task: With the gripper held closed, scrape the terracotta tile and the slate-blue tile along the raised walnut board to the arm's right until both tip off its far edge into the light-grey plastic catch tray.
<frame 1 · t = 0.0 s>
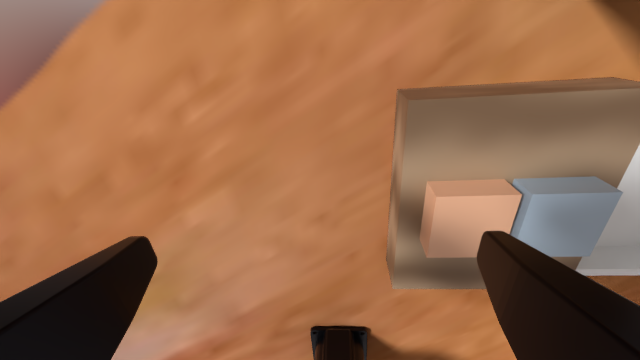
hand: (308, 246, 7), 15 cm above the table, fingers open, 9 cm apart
walnut board: (477, 185, 23), on the table
slate tile: (542, 209, 19), point 3 cm above the table, touching walnut board
terracotta tile: (458, 211, 20), point 3 cm above the table, touching walnut board
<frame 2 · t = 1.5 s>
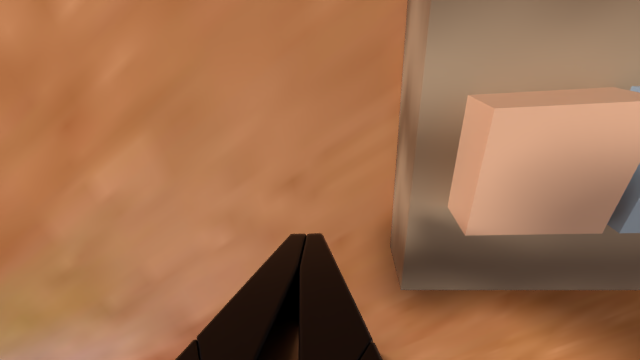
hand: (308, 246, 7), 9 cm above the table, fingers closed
walnut board: (538, 125, 14), on the table
terracotta tile: (520, 154, 11), point 3 cm above the table, touching walnut board
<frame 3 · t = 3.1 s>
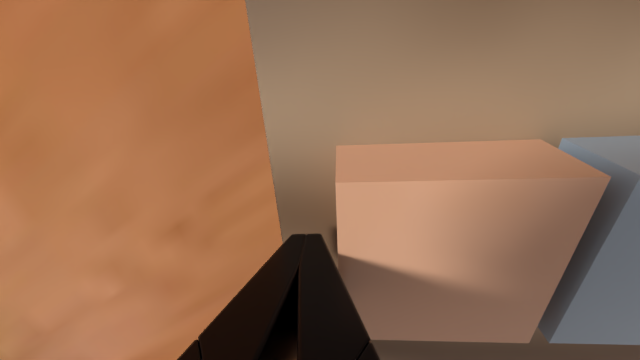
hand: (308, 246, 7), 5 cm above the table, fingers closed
walnut board: (469, 168, 11), on the table
slate tile: (625, 220, 8), point 3 cm above the table, touching walnut board
terracotta tile: (423, 222, 8), point 4 cm above the table, touching gripper
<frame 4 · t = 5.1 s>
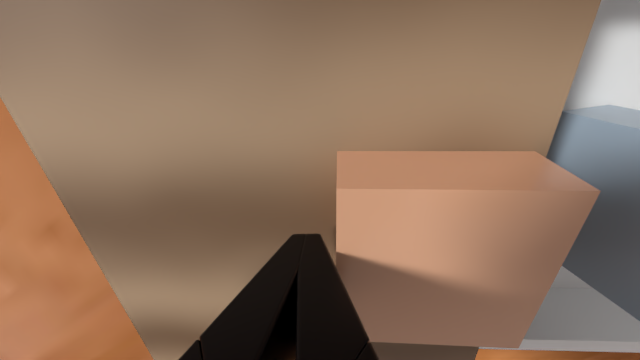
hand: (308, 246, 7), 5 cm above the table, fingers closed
walnut board: (299, 173, 12), on the table
slate tile: (616, 218, 8), point 3 cm above the table, tilted 107°, touching catch tray
catch tray: (620, 165, 11), on the table
terracotta tile: (419, 228, 8), point 4 cm above the table, touching gripper
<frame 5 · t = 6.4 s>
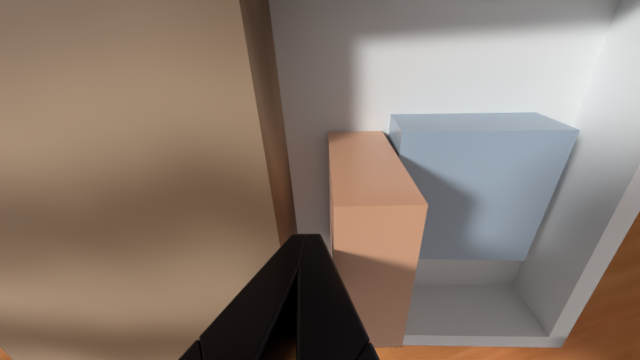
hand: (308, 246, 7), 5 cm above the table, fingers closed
walnut board: (136, 178, 12), on the table
slate tile: (470, 203, 9), point 2 cm above the table, tilted 180°, touching catch tray
catch tray: (425, 169, 11), on the table
terracotta tile: (330, 228, 9), point 3 cm above the table, tilted 93°, touching catch tray, gripper
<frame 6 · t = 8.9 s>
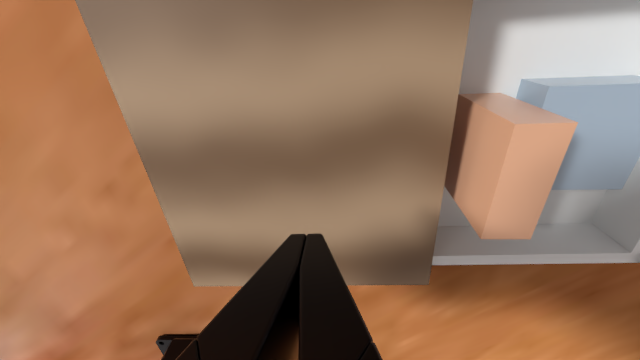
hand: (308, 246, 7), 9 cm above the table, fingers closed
walnut board: (299, 136, 16), on the table
slate tile: (588, 142, 12), point 2 cm above the table, tilted 180°, touching catch tray
catch tray: (533, 124, 15), on the table
terracotta tile: (468, 160, 13), point 3 cm above the table, tilted 90°, touching catch tray
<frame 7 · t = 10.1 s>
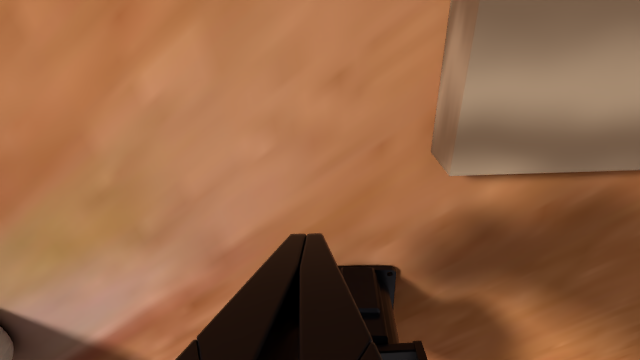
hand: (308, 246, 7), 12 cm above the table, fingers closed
walnut board: (588, 3, 14), on the table
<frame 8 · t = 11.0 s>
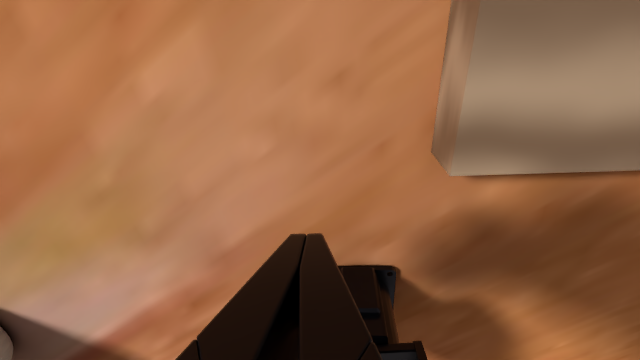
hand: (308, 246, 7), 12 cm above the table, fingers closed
walnut board: (589, 3, 14), on the table
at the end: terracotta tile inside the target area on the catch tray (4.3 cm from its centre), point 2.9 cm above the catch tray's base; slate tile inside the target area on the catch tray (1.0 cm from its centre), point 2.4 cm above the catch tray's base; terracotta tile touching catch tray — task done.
